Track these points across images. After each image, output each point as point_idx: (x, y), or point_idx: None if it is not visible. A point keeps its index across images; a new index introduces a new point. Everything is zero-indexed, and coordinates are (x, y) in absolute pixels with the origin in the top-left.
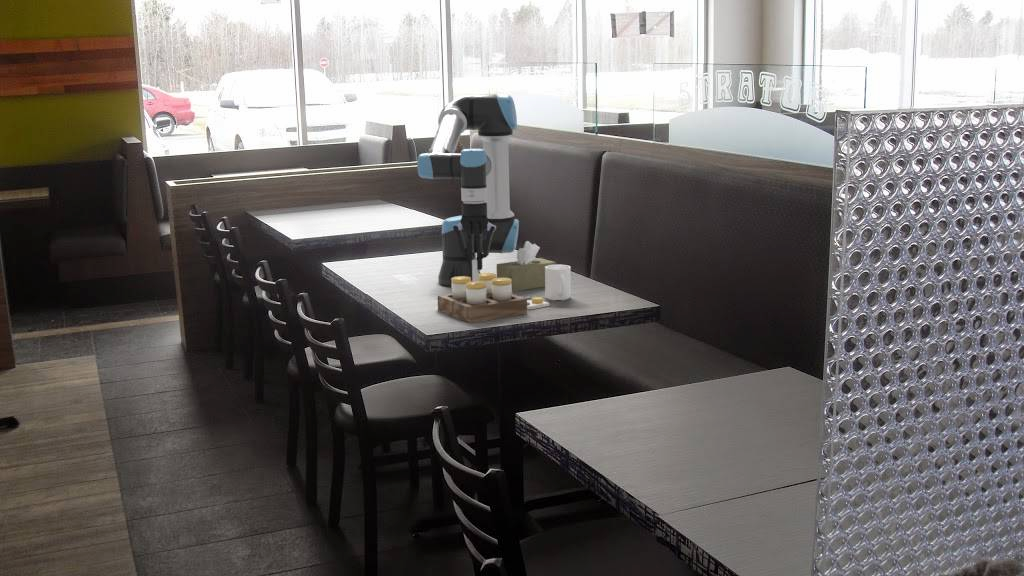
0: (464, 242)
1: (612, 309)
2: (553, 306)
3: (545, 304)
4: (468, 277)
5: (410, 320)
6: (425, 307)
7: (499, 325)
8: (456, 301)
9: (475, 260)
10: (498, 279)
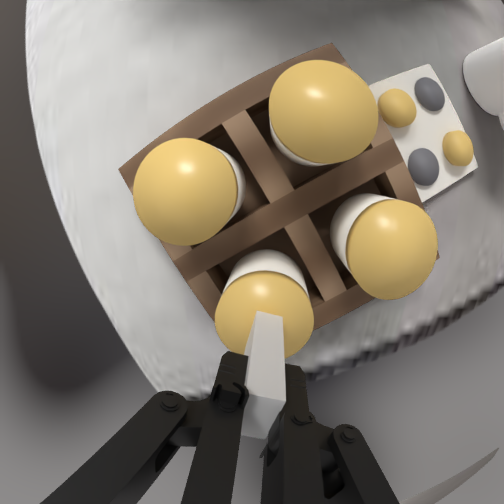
0: (126, 498)
1: None
2: (479, 172)
3: (469, 172)
4: (220, 171)
5: (95, 283)
6: (109, 136)
7: (323, 359)
8: (191, 271)
9: (256, 435)
10: (384, 247)
